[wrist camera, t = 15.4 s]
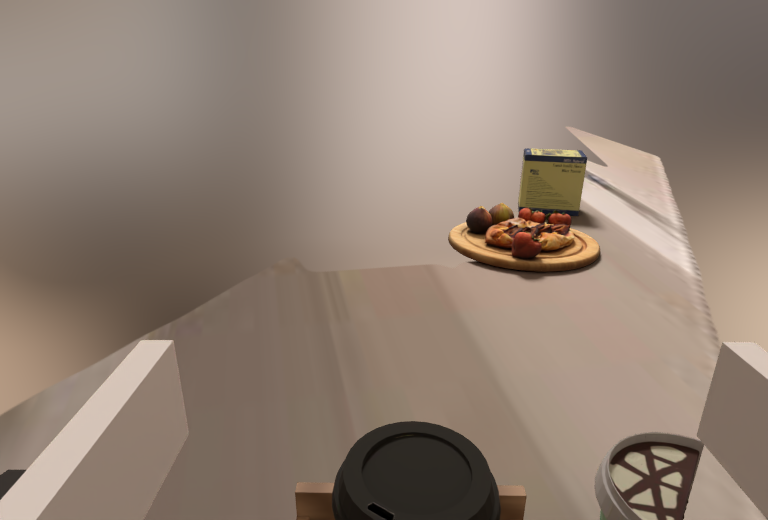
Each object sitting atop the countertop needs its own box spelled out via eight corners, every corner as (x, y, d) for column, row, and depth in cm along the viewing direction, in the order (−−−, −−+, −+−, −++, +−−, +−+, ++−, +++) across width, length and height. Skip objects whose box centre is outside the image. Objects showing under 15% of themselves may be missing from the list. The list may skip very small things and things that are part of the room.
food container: (603, 497, 47) (622, 407, 43) (678, 532, 43) (705, 438, 40) (556, 602, 38) (575, 500, 34) (646, 657, 34) (678, 550, 31)
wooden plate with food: (588, 287, 91) (596, 244, 89) (425, 255, 105) (427, 217, 102) (606, 240, 118) (612, 205, 115) (474, 219, 132) (477, 188, 129)
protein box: (579, 216, 133) (588, 156, 127) (518, 212, 136) (524, 154, 130) (574, 206, 142) (582, 150, 137) (517, 202, 145) (522, 147, 140)
